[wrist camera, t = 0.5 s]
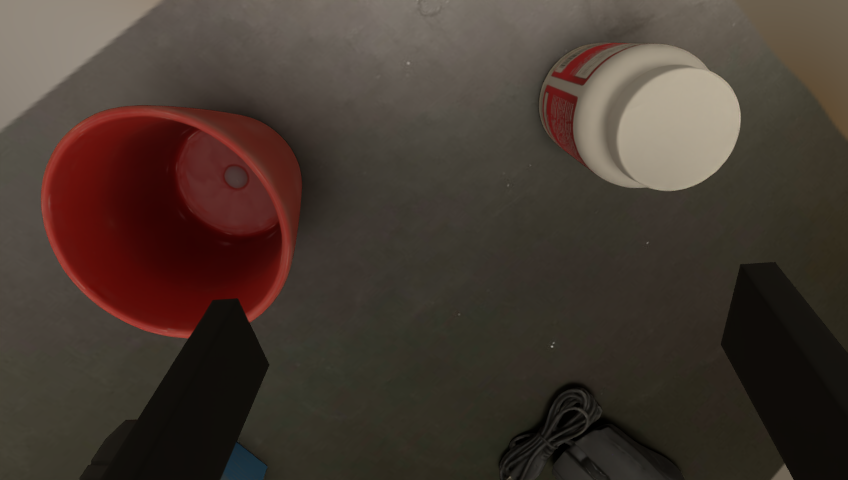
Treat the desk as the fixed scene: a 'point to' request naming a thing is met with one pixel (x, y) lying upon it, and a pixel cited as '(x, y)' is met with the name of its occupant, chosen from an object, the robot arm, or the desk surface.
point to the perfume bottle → (243, 466)
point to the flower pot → (173, 213)
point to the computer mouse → (583, 448)
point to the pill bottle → (640, 114)
